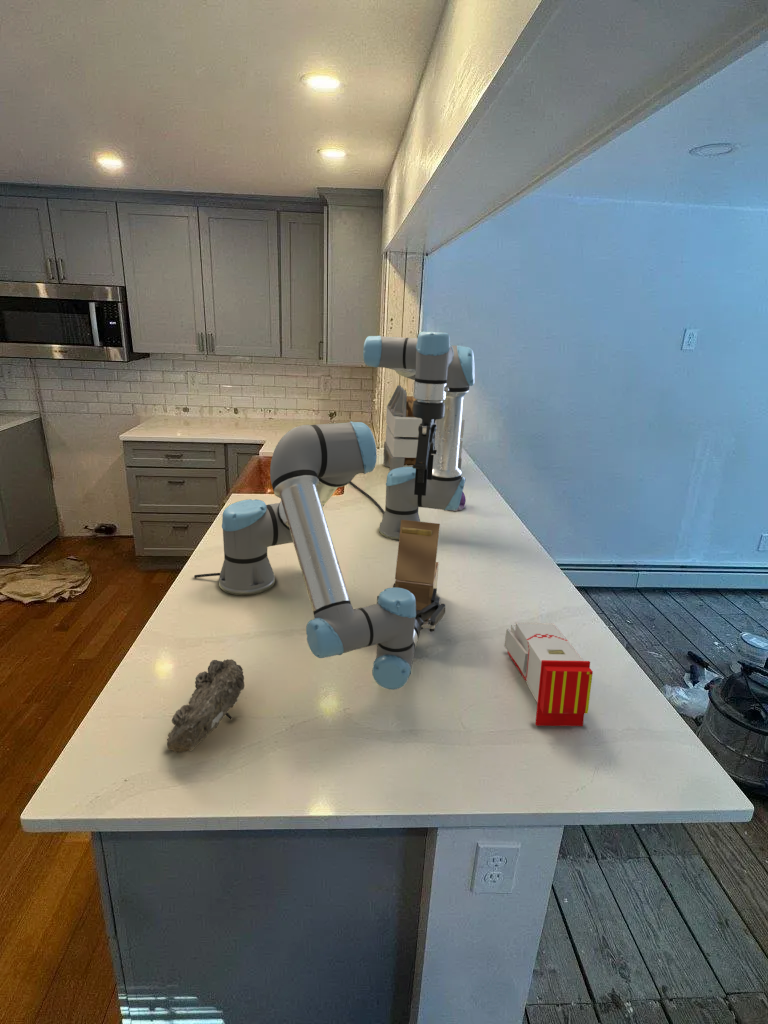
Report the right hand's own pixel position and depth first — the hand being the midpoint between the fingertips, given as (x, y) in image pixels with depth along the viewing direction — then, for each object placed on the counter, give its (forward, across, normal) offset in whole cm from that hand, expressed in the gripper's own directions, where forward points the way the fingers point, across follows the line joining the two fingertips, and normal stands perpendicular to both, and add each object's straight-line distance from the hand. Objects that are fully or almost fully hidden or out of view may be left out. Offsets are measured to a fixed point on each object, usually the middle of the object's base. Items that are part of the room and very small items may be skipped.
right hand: (423, 486), depth 141 cm
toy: (+33, -27, -31) cm, 53 cm away
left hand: (+27, -3, 0) cm, 27 cm away
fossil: (+33, -53, +32) cm, 70 cm away
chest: (+33, 0, 0) cm, 33 cm away
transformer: (+33, +130, +15) cm, 135 cm away
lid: (+16, -4, 0) cm, 16 cm away
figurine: (+33, +84, -5) cm, 90 cm away
